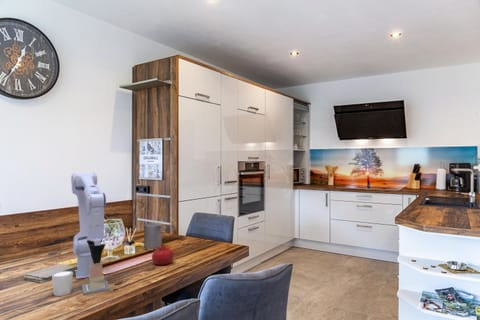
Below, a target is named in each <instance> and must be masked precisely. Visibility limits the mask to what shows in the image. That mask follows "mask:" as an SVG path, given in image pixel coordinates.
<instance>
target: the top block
mask: <svg viewBox="0 0 480 320" xmlns="http://www.w3.org/2000/svg"><path fill="white" fill-rule="evenodd" d="M102 273H103V264H102V263H101V262H100V263H96V264H92V265H90V277H91V278H96V277H102Z"/></svg>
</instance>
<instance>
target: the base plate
mask: <svg viewBox="0 0 480 320" xmlns="http://www.w3.org/2000/svg"><path fill="white" fill-rule="evenodd" d="M81 289H82V295H83V296H86V295H90V294H96V293H101V292H107V291H111V287H110V284H109V282H108V280H104V287H102V288H97V289H91V290H90V288H89V282H88V283H81Z"/></svg>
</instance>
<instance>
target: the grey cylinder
mask: <svg viewBox="0 0 480 320" xmlns="http://www.w3.org/2000/svg"><path fill="white" fill-rule="evenodd" d="M73 275H74V272H72V271H62V272H58V273H55V274H53V275H52V280H51V282H52V290H53V296H56V297H61V296H66V295H69V294H71V293H72V288H73V287H72V286H73V277H74V276H73Z"/></svg>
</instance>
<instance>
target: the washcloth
mask: <svg viewBox="0 0 480 320" xmlns="http://www.w3.org/2000/svg"><path fill="white" fill-rule="evenodd" d="M75 270H77V265H68V264H60V263H58V264H55V265H52V266H48V267H45V268H40V269H38V270H35V271H34V270H33V271H31V272H27V273H25V274H24V275H23V277H24V278H23V280H25V281H26V282H30V283H31V282H32V283H36V284H43V283H46V282H50V281H52V275H53V274H55V273H58V272H62V271H72V272H73V273H76V272H75Z"/></svg>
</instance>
